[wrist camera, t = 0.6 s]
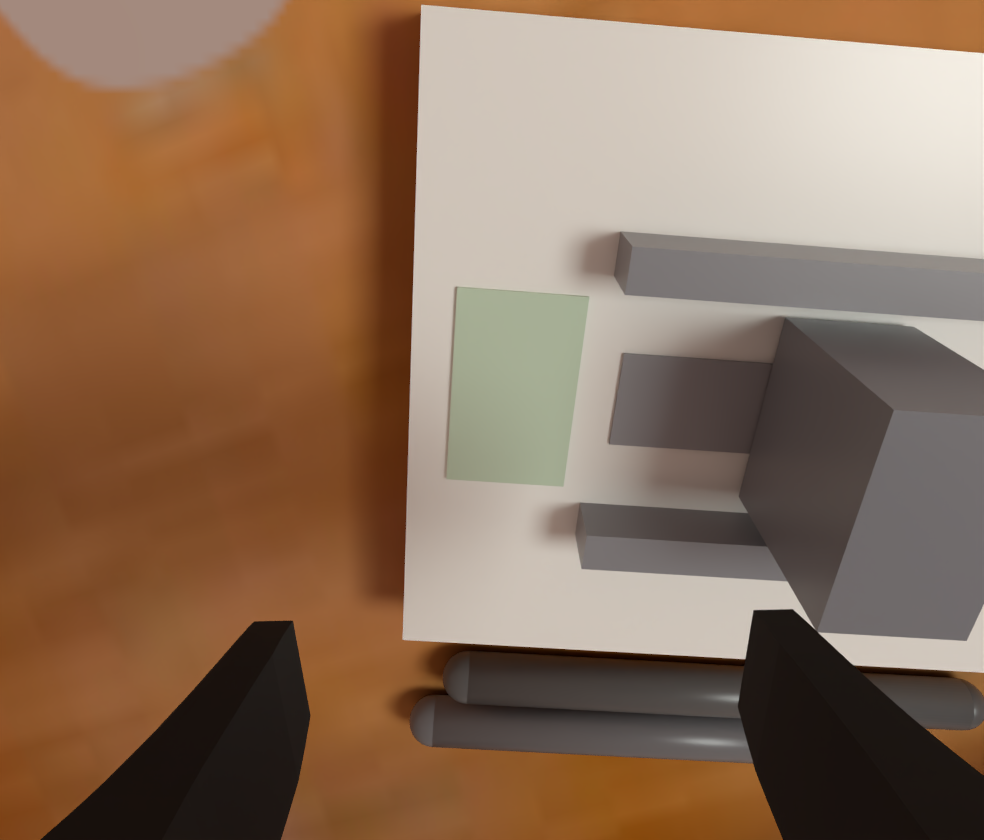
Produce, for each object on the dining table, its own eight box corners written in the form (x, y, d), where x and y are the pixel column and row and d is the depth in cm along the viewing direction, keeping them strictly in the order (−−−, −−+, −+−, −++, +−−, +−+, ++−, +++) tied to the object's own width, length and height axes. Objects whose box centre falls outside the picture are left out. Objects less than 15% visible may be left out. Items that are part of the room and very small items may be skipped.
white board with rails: (1309, 87, 17) (1500, 92, 13) (971, 746, 26) (1038, 841, 23) (429, 11, 16) (413, -2, 13) (405, 716, 25) (393, 809, 22)
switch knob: (913, 326, 17) (1068, 421, 12) (853, 503, 19) (966, 640, 14) (785, 317, 17) (894, 410, 12) (738, 496, 19) (816, 632, 14)
